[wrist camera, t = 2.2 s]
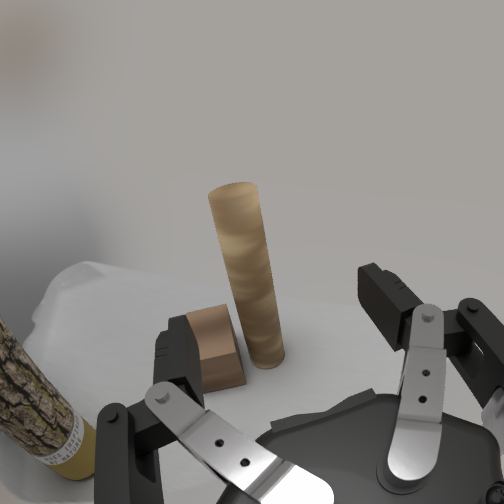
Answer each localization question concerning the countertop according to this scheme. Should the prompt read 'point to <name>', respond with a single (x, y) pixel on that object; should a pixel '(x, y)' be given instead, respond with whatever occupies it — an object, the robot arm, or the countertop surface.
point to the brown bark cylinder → (41, 414)
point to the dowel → (248, 269)
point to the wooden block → (217, 348)
